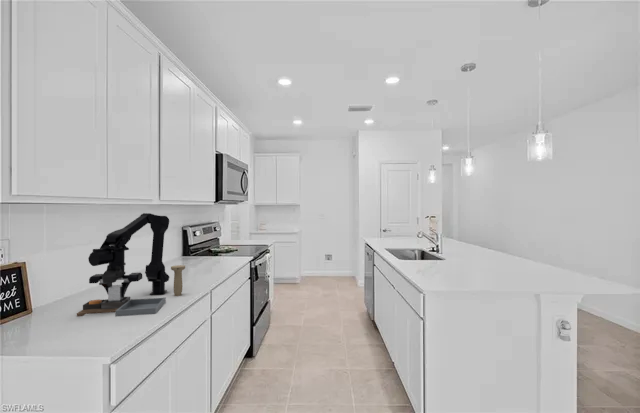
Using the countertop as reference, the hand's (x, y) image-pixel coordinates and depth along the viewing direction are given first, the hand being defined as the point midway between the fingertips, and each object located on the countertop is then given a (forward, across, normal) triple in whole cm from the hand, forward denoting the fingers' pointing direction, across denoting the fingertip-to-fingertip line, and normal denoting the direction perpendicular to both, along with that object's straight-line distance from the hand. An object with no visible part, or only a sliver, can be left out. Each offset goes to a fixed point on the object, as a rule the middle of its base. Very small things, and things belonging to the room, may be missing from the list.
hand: (116, 297), depth 132 cm
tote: (+5, +12, -6) cm, 14 cm away
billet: (+2, 0, 0) cm, 2 cm away
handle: (+5, +22, +13) cm, 26 cm away
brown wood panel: (+5, -4, 0) cm, 6 cm away
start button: (+3, -8, 0) cm, 9 cm away
